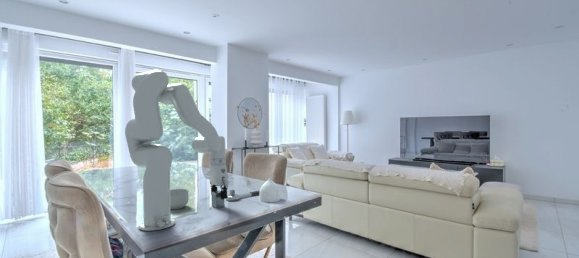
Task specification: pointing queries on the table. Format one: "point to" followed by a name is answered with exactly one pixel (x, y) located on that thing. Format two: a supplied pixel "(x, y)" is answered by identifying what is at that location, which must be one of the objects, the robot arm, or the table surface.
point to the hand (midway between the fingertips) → (219, 196)
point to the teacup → (178, 198)
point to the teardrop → (269, 192)
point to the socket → (217, 199)
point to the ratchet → (236, 197)
